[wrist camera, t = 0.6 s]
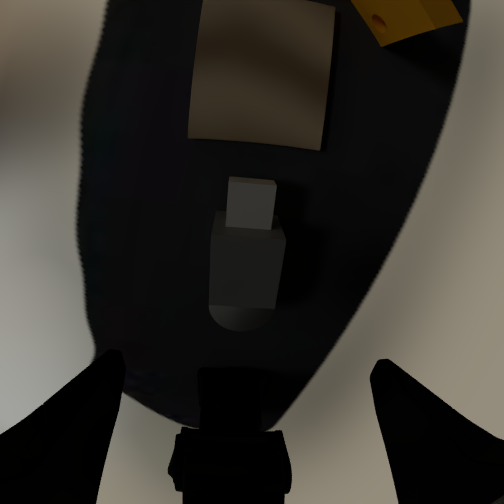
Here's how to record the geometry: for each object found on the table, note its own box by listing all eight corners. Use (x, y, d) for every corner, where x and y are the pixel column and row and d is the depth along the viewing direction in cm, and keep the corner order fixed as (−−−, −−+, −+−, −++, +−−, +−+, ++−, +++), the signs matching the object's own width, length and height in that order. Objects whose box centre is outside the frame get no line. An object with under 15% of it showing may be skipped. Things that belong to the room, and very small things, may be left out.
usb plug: (265, 297, 22) (270, 332, 18) (212, 294, 22) (208, 329, 18) (282, 177, 18) (293, 193, 14) (219, 171, 18) (213, 186, 14)
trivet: (317, 149, 17) (319, 150, 17) (189, 137, 17) (187, 138, 16) (332, 10, 13) (335, 7, 12) (206, -6, 12) (205, -10, 12)
